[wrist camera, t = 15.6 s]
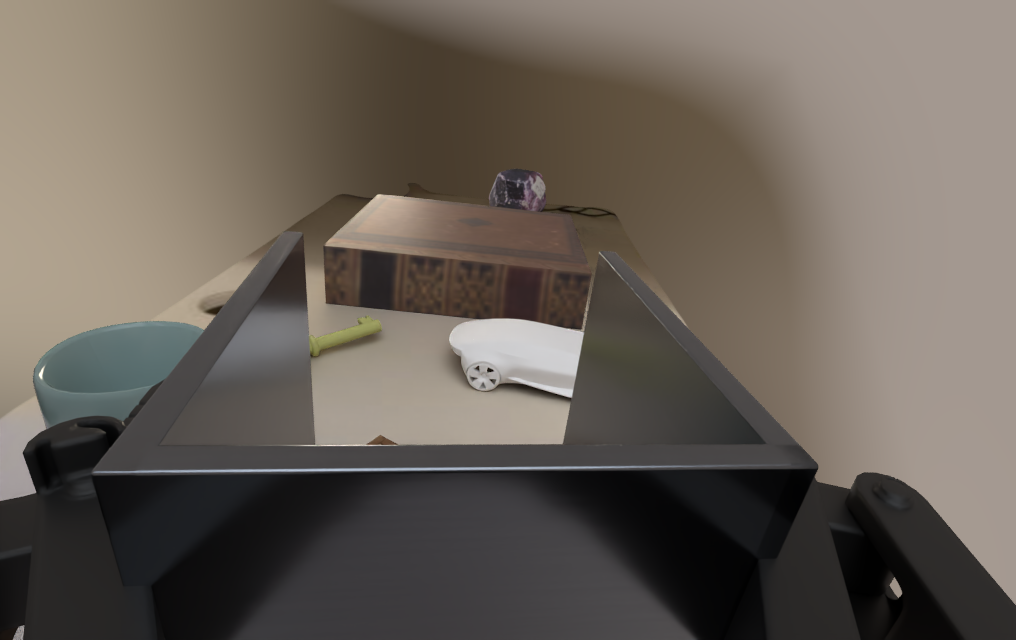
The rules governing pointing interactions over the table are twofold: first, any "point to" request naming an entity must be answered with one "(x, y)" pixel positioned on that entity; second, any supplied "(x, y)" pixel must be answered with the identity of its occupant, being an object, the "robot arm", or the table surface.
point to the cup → (108, 369)
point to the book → (459, 262)
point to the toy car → (518, 354)
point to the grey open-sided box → (449, 492)
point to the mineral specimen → (518, 190)
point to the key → (344, 335)
